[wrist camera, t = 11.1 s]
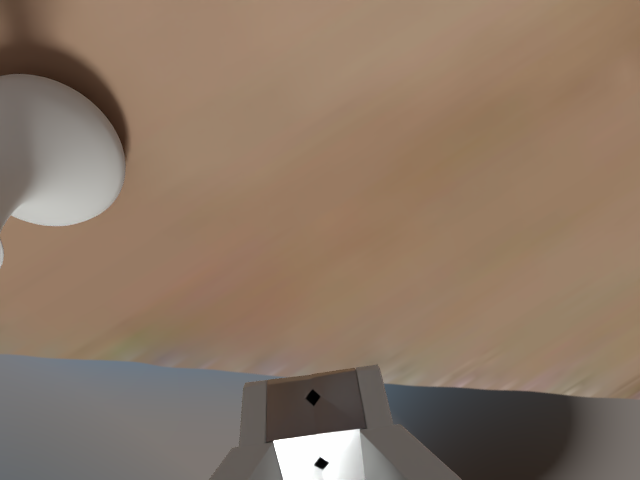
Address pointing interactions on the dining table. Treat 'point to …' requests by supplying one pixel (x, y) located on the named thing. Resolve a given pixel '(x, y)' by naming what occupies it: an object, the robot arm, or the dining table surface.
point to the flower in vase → (54, 154)
